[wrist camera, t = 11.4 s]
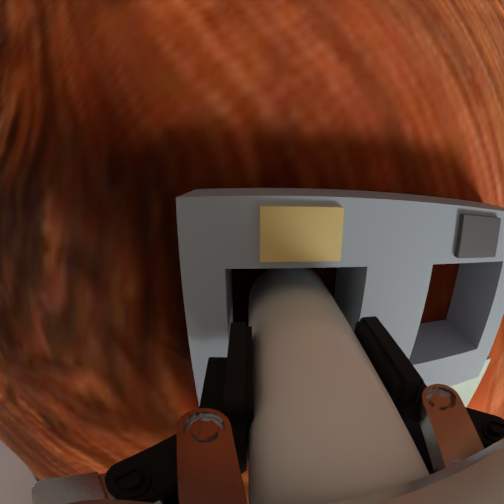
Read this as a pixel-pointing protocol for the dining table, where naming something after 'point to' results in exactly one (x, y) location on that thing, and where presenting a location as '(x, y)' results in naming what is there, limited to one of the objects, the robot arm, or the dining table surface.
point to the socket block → (349, 265)
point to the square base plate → (470, 385)
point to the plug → (318, 401)
